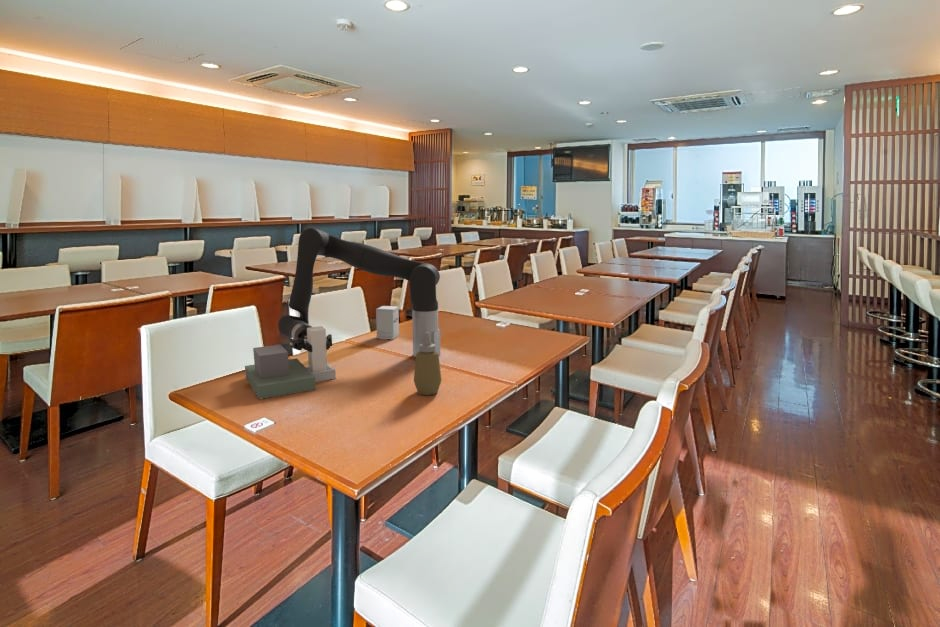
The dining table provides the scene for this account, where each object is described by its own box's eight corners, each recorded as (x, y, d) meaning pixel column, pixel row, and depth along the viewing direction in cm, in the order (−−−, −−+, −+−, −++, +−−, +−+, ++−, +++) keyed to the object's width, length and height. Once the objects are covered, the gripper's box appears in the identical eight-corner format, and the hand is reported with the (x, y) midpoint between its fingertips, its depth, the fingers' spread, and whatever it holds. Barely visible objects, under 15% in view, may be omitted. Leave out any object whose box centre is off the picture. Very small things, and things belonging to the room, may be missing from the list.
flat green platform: (322, 366, 179) (320, 334, 177) (342, 384, 161) (341, 350, 159) (245, 378, 167) (242, 344, 165) (258, 399, 149) (255, 362, 146)
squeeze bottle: (414, 388, 158) (413, 329, 155) (441, 387, 159) (440, 329, 155) (413, 397, 151) (412, 336, 147) (442, 396, 151) (441, 336, 148)
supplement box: (393, 340, 214) (392, 309, 211) (376, 339, 215) (375, 308, 213) (399, 335, 221) (398, 306, 218) (382, 334, 222) (381, 305, 220)
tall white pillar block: (323, 368, 171) (321, 326, 168) (327, 372, 167) (325, 329, 164) (309, 370, 168) (306, 327, 165) (313, 374, 165) (310, 331, 162)
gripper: (282, 327, 173) (295, 339, 159) (325, 322, 181) (341, 333, 166) (284, 349, 175) (296, 362, 161) (326, 343, 182) (342, 356, 168)
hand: (319, 347), depth 164 cm, fingers closed on tall white pillar block, 4 cm apart
